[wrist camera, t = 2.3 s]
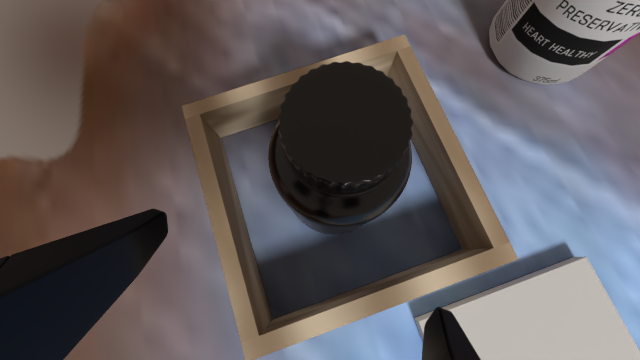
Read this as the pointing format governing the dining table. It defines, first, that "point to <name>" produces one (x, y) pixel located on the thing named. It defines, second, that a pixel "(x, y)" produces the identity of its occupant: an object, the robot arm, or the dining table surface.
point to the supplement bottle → (341, 146)
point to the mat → (545, 318)
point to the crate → (272, 335)
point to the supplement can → (560, 36)
